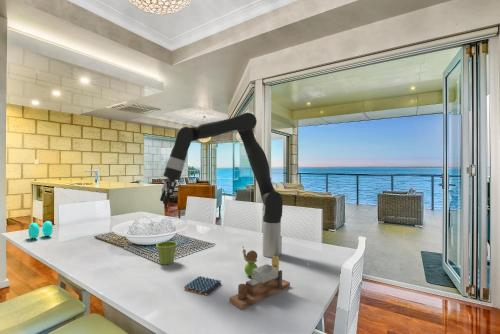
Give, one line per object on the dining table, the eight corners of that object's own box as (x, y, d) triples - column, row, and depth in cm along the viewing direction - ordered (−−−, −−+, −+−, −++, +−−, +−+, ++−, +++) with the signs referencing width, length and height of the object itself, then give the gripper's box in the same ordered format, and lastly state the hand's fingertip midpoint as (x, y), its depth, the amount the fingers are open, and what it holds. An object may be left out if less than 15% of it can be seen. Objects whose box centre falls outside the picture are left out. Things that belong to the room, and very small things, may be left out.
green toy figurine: (241, 273, 105) (242, 244, 105) (256, 272, 106) (257, 244, 106) (242, 278, 100) (242, 248, 100) (258, 278, 100) (258, 248, 101)
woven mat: (198, 280, 99) (198, 274, 99) (222, 285, 95) (222, 279, 95) (182, 291, 90) (182, 285, 90) (207, 297, 86) (207, 291, 86)
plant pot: (151, 264, 113) (151, 245, 114) (165, 258, 122) (165, 240, 122) (167, 267, 110) (168, 248, 110) (181, 260, 119) (181, 242, 119)
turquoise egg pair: (27, 238, 153) (28, 222, 154) (47, 235, 162) (48, 219, 162) (32, 241, 148) (33, 224, 148) (53, 237, 156) (53, 221, 156)
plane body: (277, 281, 98) (278, 263, 98) (289, 286, 94) (290, 267, 94) (229, 301, 82) (229, 280, 82) (241, 309, 77) (241, 286, 78)
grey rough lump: (267, 272, 94) (267, 264, 94) (278, 276, 90) (278, 268, 90) (251, 278, 88) (251, 269, 88) (262, 283, 84) (262, 274, 84)
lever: (272, 270, 94) (272, 254, 94) (280, 273, 92) (280, 256, 92) (270, 271, 93) (270, 254, 94) (277, 274, 91) (278, 257, 91)
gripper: (185, 171, 110) (174, 207, 108) (178, 170, 123) (168, 202, 121) (169, 166, 107) (157, 203, 105) (163, 165, 119) (153, 198, 118)
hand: (163, 202), depth 113 cm, fingers open, 8 cm apart
